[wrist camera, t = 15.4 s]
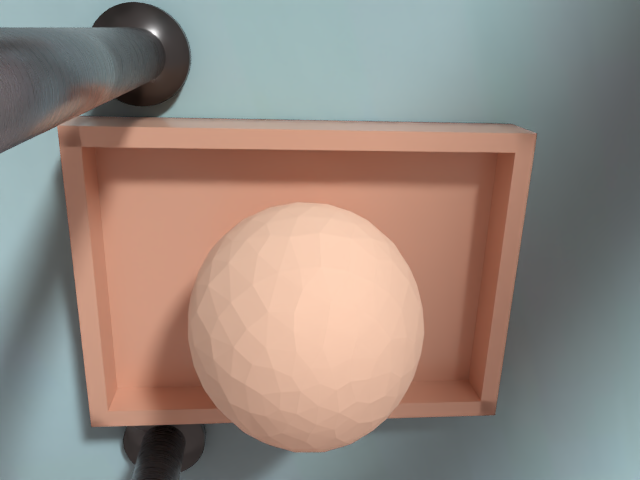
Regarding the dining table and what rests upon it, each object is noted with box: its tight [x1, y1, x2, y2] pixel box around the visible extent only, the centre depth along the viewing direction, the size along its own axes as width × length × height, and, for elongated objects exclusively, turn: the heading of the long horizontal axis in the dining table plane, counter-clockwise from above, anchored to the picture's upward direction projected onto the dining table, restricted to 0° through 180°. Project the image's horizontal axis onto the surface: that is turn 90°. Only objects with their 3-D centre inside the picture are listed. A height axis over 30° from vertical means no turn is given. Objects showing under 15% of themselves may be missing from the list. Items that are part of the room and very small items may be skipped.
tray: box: [57, 116, 537, 427], centre depth 20 cm, size 14×10×2 cm
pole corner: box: [0, 2, 191, 153], centre depth 11 cm, size 3×3×15 cm
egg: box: [188, 202, 424, 452], centre depth 17 cm, size 7×7×8 cm
